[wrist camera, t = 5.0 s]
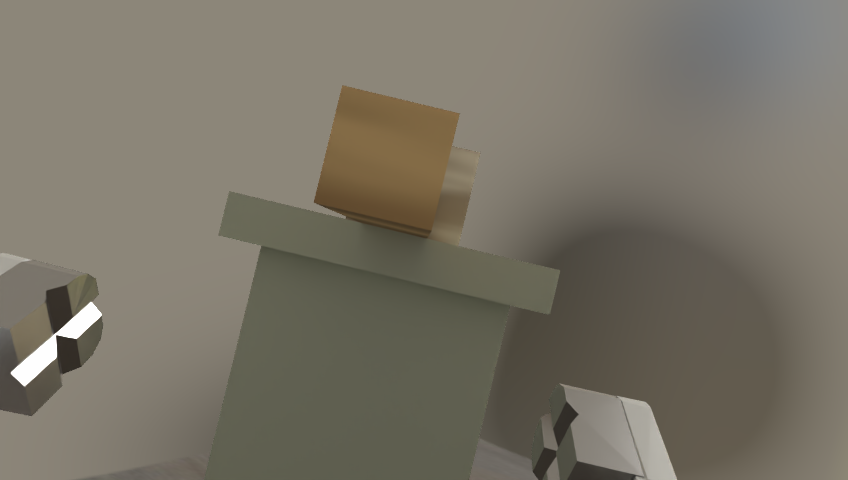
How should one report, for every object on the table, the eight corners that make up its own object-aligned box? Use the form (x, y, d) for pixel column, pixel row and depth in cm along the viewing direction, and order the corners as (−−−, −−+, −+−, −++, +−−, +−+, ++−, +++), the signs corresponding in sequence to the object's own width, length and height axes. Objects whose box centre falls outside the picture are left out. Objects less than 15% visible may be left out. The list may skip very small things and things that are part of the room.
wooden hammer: (509, 249, 13) (565, 15, 13) (235, 183, 13) (292, -50, 13) (454, 249, 34) (475, 161, 34) (351, 224, 34) (372, 136, 34)
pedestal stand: (422, 856, 22) (560, 270, 23) (84, 775, 22) (229, 191, 23) (422, 633, 35) (509, 262, 36) (208, 582, 35) (298, 212, 36)
